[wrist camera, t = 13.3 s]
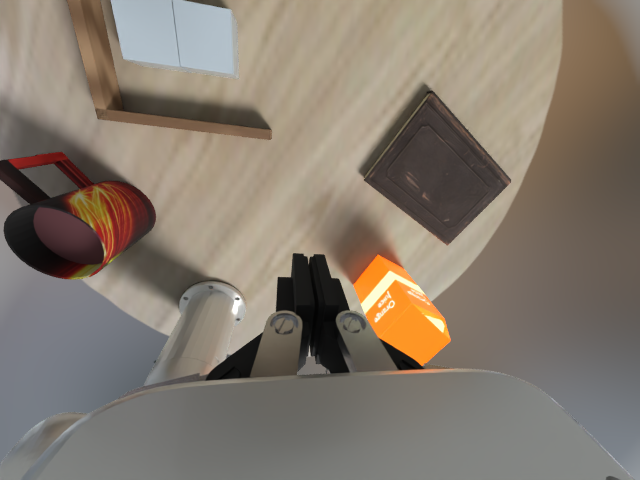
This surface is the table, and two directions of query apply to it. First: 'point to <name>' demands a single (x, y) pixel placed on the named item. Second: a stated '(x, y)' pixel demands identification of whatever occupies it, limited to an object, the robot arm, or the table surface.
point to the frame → (105, 83)
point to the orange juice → (401, 311)
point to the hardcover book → (437, 171)
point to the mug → (73, 220)
